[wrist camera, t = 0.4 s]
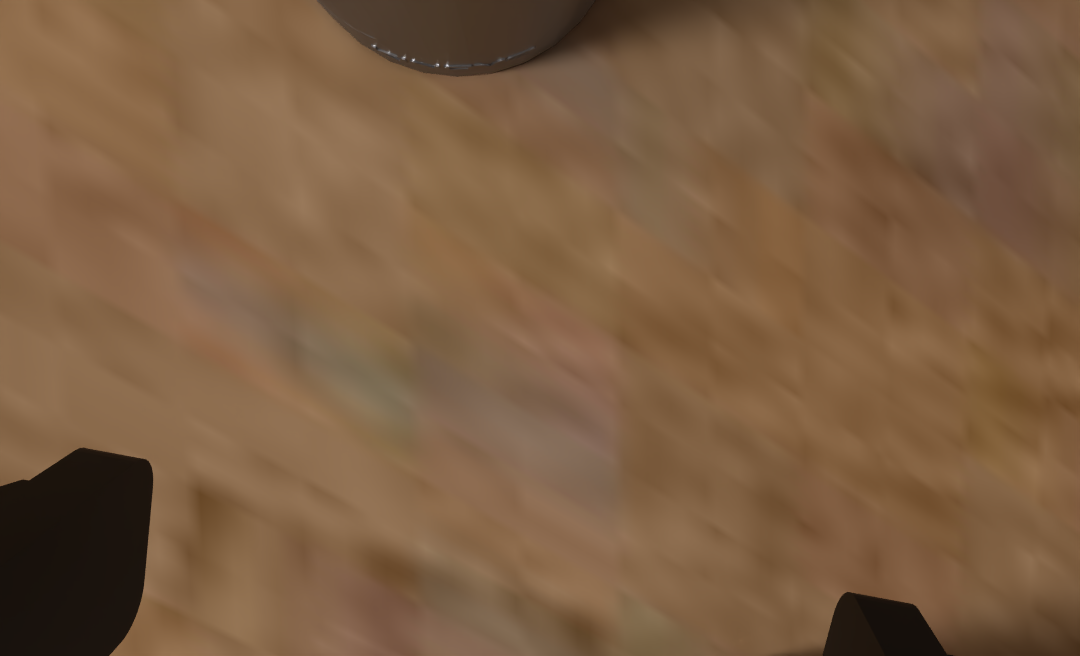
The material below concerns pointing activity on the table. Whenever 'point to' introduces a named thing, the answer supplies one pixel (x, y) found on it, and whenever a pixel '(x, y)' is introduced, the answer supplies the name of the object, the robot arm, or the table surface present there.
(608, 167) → the table surface
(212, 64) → the table surface
